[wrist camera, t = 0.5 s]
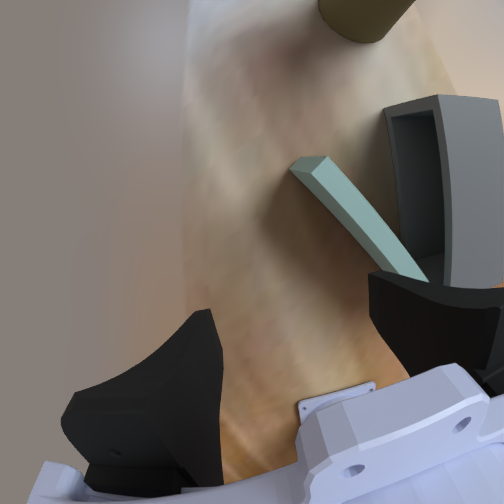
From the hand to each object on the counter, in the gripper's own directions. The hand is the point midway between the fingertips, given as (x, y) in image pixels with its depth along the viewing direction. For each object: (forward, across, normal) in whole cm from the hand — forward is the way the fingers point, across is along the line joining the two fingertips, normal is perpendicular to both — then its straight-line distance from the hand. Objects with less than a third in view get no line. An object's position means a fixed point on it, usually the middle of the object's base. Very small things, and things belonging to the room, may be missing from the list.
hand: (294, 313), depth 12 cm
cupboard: (+10, -14, -2) cm, 17 cm away
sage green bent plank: (+10, -6, 0) cm, 12 cm away
